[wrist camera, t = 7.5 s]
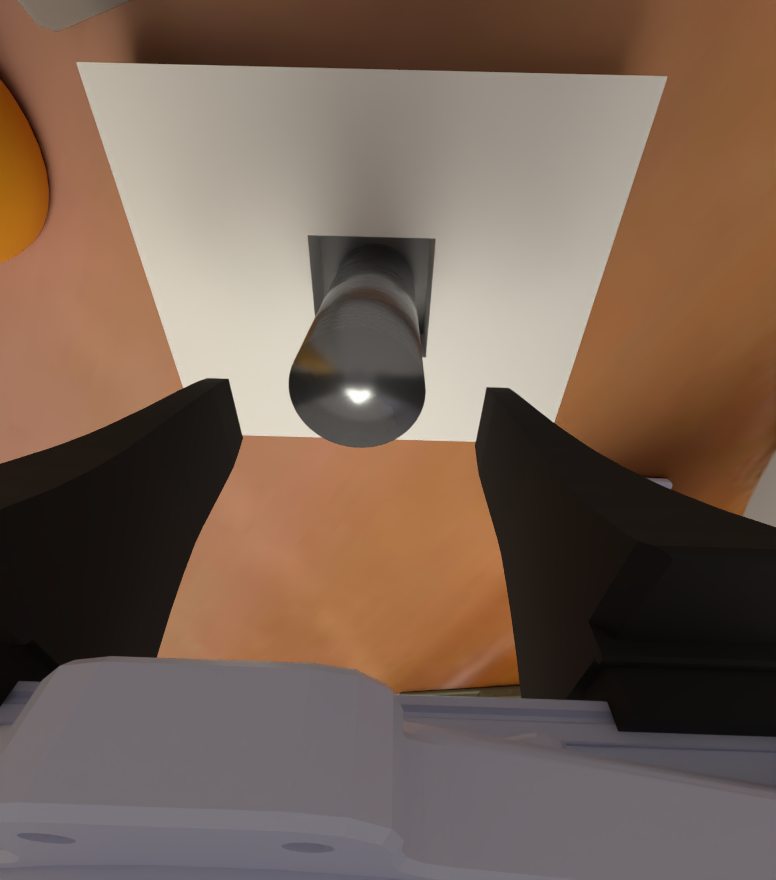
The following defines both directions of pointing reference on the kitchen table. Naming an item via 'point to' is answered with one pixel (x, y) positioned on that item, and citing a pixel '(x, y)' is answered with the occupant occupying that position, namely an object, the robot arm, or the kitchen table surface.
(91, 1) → the vintage mobile phone
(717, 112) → the kitchen table surface
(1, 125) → the beer bottle
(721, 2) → the kitchen table surface
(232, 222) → the grey hole plate
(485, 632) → the kitchen table surface
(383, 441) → the steel pin
